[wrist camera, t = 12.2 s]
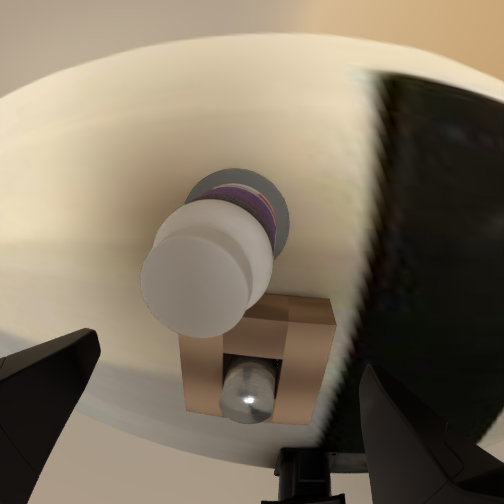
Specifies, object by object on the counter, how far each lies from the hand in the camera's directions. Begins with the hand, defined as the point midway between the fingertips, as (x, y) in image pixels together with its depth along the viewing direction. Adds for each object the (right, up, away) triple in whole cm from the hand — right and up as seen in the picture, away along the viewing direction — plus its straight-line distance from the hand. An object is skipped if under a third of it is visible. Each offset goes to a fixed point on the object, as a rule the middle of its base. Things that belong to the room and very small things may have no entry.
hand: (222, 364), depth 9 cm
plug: (+1, -4, +14) cm, 14 cm away
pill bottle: (0, +5, +11) cm, 12 cm away
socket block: (+1, -4, +14) cm, 15 cm away
